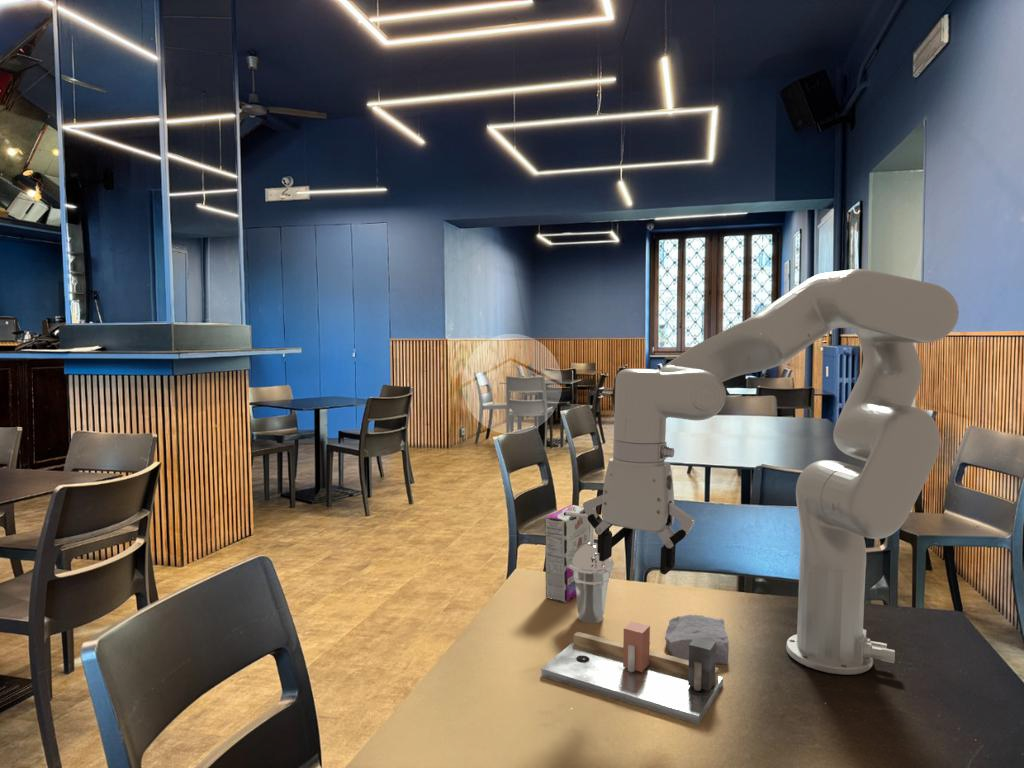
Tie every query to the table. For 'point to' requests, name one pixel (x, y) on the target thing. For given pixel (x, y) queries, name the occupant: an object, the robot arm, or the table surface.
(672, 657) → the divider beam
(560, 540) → the candy bar box
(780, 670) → the table surface
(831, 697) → the table surface
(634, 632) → the block
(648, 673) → the bolt plate
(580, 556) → the domed lid cup
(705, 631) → the stone block
